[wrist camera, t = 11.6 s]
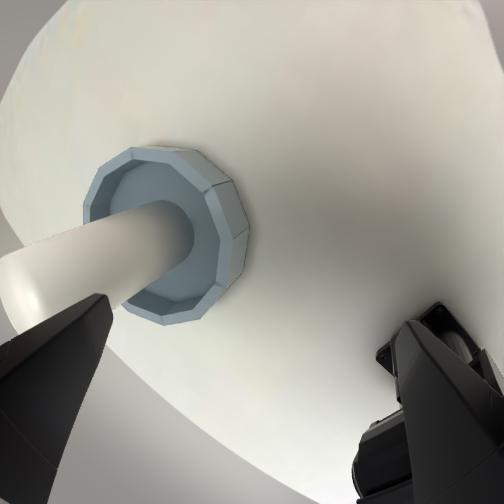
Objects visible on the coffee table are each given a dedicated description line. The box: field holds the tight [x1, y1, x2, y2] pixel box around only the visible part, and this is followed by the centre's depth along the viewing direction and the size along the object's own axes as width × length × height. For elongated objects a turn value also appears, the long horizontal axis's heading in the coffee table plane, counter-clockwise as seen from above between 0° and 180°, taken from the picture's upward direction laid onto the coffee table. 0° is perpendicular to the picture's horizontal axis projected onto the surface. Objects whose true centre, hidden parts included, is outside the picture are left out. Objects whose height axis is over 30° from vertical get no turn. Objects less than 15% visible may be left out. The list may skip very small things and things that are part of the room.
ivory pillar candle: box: [0, 200, 194, 335], centre depth 17 cm, size 5×5×13 cm
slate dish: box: [83, 146, 250, 326], centre depth 23 cm, size 13×13×3 cm
